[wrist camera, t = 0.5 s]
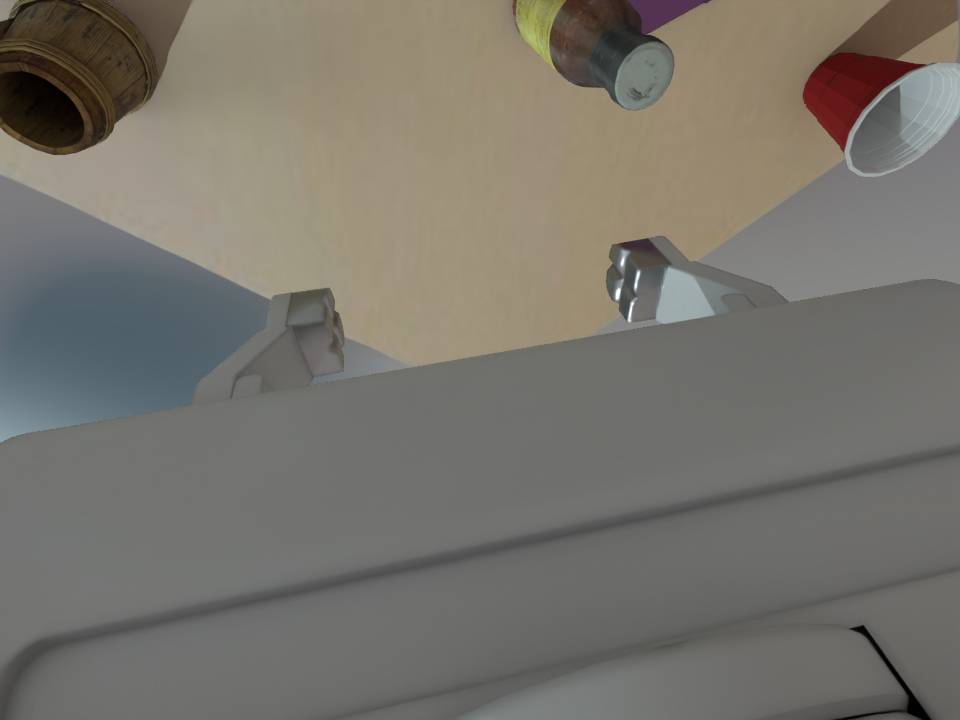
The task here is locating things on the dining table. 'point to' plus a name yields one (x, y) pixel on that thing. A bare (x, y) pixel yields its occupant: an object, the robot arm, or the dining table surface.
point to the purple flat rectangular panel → (661, 11)
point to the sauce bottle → (598, 47)
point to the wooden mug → (70, 73)
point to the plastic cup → (883, 108)
